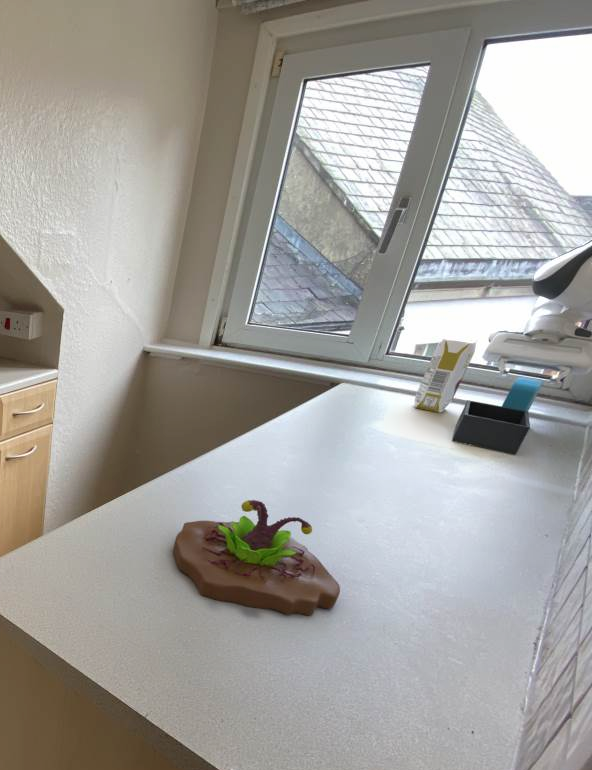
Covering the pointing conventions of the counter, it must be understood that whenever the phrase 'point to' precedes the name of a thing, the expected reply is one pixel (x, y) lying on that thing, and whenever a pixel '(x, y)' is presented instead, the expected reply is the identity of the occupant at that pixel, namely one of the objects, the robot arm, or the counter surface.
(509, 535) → the counter surface
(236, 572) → the plant
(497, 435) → the box
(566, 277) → the robot arm
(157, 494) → the counter surface
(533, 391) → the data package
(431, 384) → the juice carton
